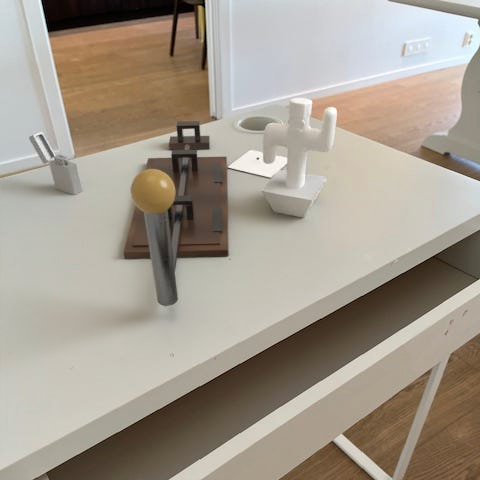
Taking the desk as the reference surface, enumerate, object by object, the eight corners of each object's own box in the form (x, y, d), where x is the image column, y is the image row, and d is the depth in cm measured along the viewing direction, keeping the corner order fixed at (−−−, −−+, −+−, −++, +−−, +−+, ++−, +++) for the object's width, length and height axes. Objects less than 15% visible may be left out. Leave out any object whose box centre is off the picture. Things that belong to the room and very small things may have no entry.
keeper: (170, 142, 92) (168, 120, 89) (209, 142, 92) (208, 119, 89) (169, 150, 89) (167, 127, 87) (209, 149, 89) (208, 126, 87)
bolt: (175, 149, 85) (166, 51, 75) (199, 149, 85) (193, 50, 75) (147, 315, 53) (124, 181, 43) (185, 314, 53) (171, 180, 43)
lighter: (82, 190, 78) (71, 138, 73) (74, 195, 77) (61, 143, 72) (50, 180, 81) (36, 129, 76) (41, 184, 80) (27, 133, 75)
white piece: (270, 177, 80) (270, 172, 80) (226, 167, 83) (226, 162, 83) (292, 158, 86) (292, 154, 85) (250, 149, 89) (250, 145, 88)
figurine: (271, 191, 77) (274, 86, 67) (332, 202, 74) (345, 94, 65) (253, 213, 72) (254, 104, 62) (318, 226, 69) (329, 113, 60)
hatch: (148, 163, 85) (145, 140, 82) (226, 162, 85) (226, 138, 83) (124, 258, 64) (119, 231, 61) (228, 256, 64) (227, 228, 62)
